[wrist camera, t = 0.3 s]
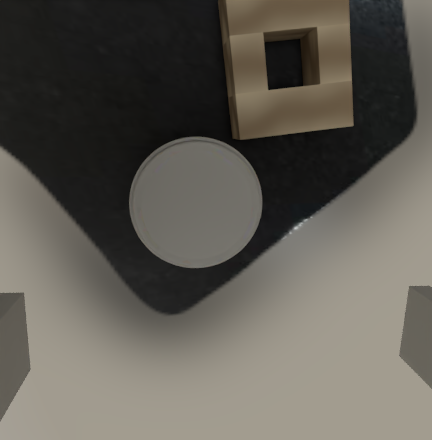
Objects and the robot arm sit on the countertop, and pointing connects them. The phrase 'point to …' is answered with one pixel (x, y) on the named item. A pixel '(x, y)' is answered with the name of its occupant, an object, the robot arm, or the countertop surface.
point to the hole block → (311, 66)
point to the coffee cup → (195, 202)
